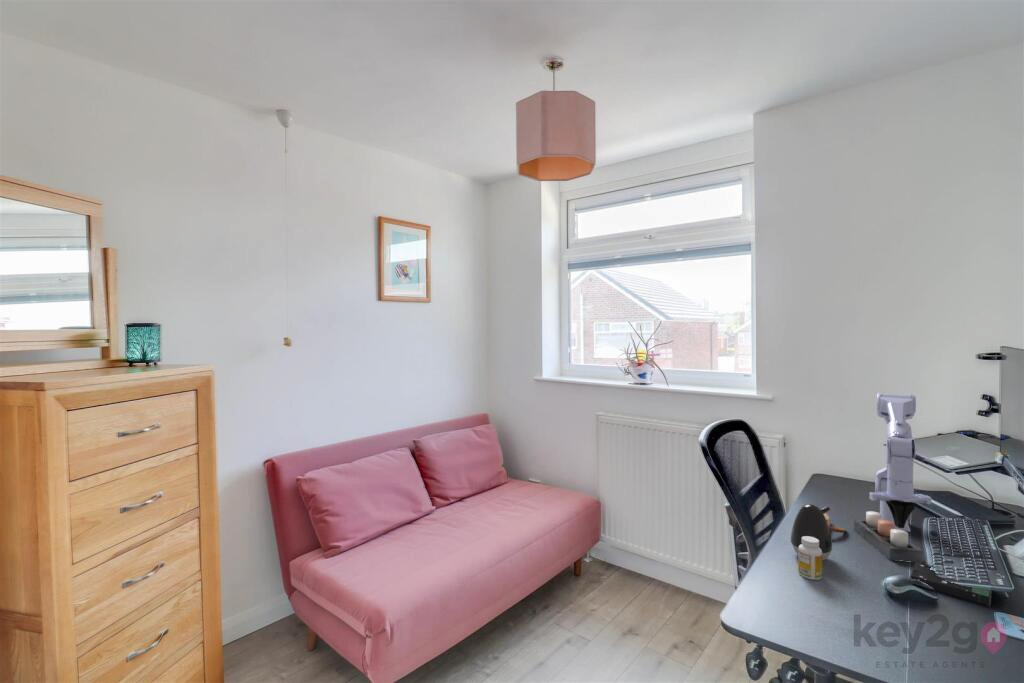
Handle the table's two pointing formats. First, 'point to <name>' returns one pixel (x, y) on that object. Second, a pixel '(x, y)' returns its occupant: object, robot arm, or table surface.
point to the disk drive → (949, 585)
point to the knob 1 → (873, 519)
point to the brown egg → (885, 528)
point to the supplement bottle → (810, 558)
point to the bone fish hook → (833, 528)
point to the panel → (888, 544)
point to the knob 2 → (899, 538)
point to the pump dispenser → (812, 528)
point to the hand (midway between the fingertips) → (899, 526)
